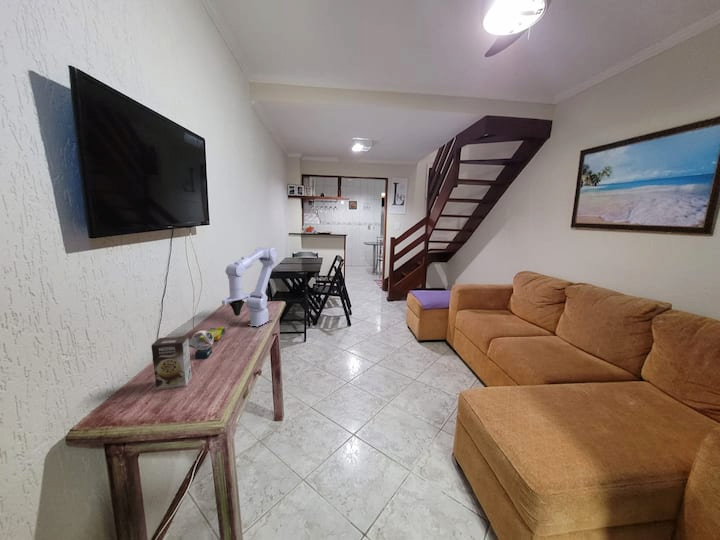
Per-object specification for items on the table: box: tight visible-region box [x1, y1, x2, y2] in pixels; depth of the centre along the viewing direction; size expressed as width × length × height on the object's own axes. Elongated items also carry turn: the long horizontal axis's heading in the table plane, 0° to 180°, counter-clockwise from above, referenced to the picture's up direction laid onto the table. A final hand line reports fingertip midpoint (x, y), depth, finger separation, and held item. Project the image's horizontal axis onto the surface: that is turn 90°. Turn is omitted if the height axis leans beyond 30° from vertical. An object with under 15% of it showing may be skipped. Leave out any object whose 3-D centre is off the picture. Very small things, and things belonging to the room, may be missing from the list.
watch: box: [190, 329, 215, 360], centre depth 110 cm, size 6×8×11 cm
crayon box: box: [200, 326, 226, 341], centre depth 127 cm, size 7×3×12 cm
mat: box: [188, 334, 224, 348], centre depth 126 cm, size 14×10×1 cm
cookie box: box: [150, 335, 193, 391], centre depth 91 cm, size 9×6×16 cm
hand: (237, 315), depth 131 cm, fingers closed
